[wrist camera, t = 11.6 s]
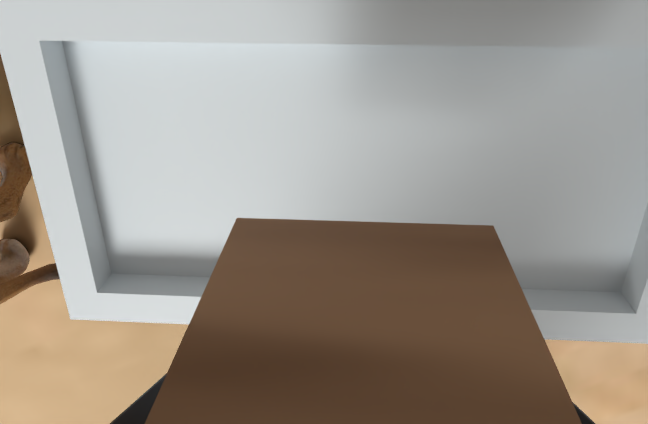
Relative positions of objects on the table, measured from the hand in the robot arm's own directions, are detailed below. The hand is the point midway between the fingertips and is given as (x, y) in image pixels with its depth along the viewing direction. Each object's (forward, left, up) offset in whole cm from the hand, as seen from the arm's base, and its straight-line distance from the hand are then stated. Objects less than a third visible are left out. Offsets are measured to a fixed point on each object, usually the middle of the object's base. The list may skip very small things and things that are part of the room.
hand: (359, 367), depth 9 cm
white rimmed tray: (0, 0, -10) cm, 10 cm away
